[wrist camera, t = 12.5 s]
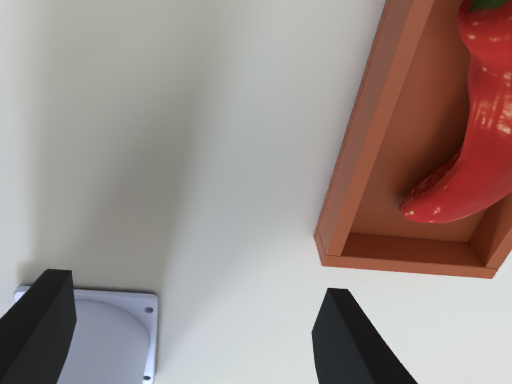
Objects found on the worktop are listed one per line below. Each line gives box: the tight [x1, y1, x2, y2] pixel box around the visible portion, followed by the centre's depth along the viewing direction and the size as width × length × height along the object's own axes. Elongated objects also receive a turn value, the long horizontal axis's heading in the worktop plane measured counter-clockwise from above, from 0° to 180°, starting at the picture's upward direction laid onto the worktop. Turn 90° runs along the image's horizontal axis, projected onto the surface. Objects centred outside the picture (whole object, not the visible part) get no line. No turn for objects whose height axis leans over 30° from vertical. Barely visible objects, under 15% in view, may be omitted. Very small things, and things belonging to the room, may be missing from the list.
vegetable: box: [399, 0, 512, 223], centre depth 17 cm, size 4×5×12 cm
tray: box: [314, 0, 512, 279], centre depth 18 cm, size 18×10×2 cm, turn 171°
